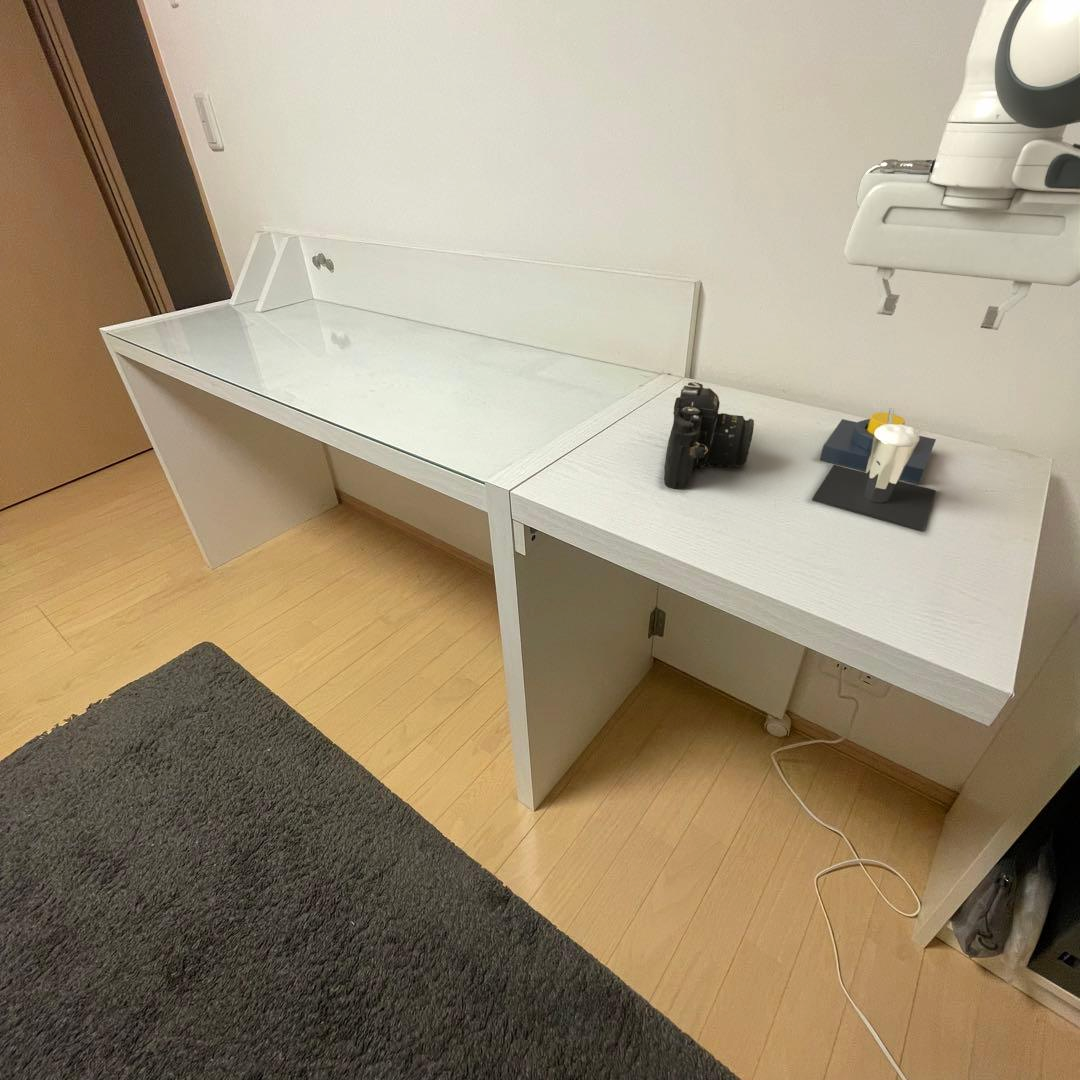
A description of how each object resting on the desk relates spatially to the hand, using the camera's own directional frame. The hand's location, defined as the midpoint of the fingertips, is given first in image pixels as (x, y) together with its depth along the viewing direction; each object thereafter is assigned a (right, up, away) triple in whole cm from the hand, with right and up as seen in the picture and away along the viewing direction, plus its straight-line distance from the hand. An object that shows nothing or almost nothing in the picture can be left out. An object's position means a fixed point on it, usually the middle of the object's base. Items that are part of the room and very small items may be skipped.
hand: (935, 320), depth 62 cm
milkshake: (0, -17, +12) cm, 21 cm away
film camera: (-18, -12, +20) cm, 30 cm away
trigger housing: (+5, -11, +20) cm, 24 cm away
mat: (0, -17, +12) cm, 21 cm away
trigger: (+5, -8, +18) cm, 21 cm away
